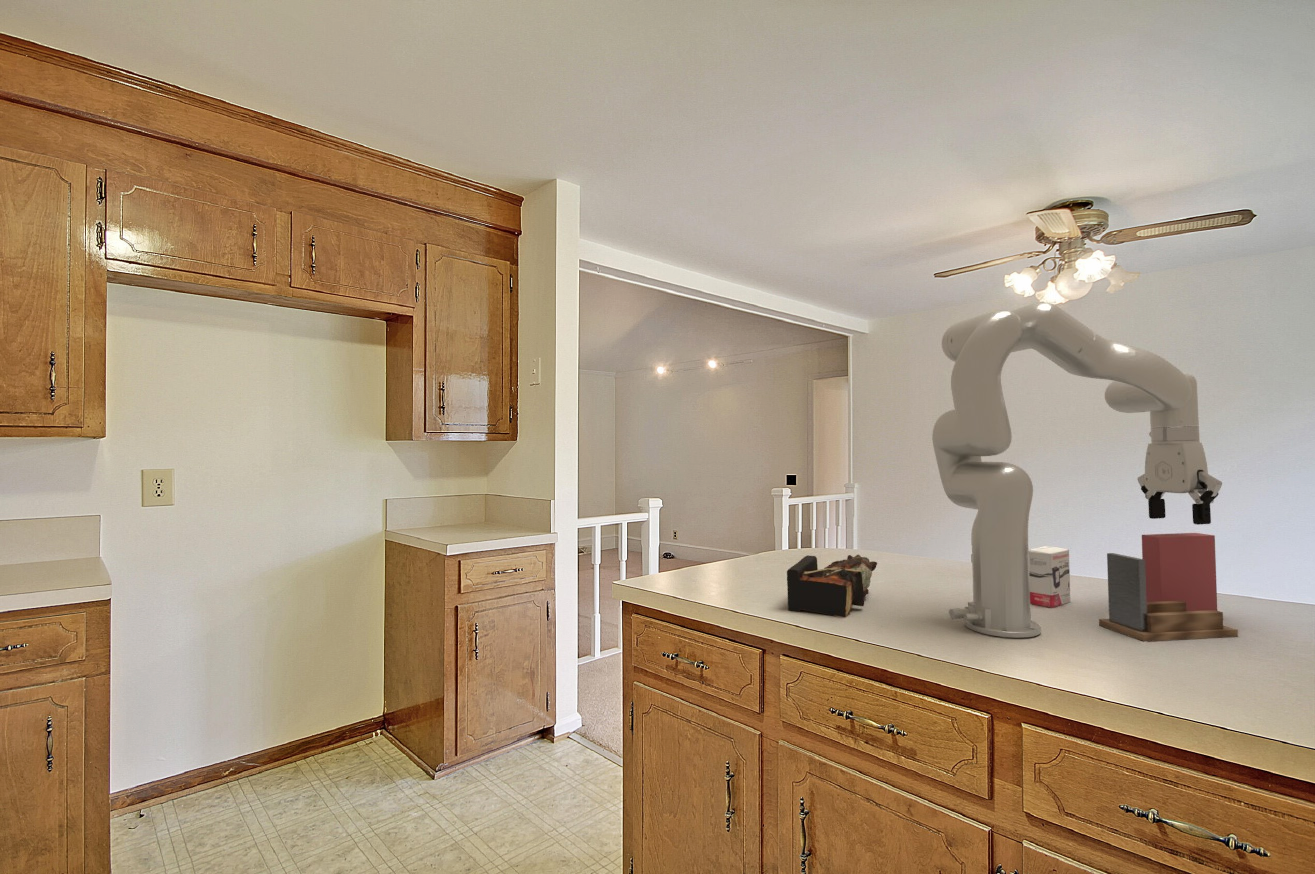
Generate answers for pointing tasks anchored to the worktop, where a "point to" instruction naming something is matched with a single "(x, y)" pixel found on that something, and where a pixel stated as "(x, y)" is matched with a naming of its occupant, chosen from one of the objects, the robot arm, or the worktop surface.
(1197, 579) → the book
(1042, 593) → the ink box
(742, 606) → the worktop surface
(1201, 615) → the book rack
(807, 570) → the bookend
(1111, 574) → the steel bookend
